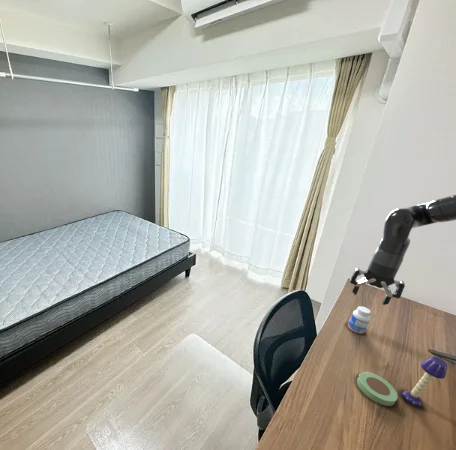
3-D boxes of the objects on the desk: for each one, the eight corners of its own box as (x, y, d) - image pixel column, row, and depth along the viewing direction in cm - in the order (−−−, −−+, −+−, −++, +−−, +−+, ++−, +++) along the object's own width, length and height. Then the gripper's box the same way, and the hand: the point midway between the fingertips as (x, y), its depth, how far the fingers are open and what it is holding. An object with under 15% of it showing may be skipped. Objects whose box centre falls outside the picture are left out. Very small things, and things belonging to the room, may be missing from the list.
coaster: (393, 388, 75) (396, 383, 74) (396, 412, 68) (399, 408, 68) (357, 371, 80) (359, 366, 79) (356, 392, 73) (359, 387, 73)
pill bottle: (347, 321, 101) (355, 302, 98) (363, 327, 98) (372, 308, 95) (347, 329, 97) (356, 310, 93) (364, 336, 94) (374, 316, 91)
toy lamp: (427, 406, 70) (456, 365, 64) (416, 411, 69) (445, 370, 63) (407, 390, 74) (432, 350, 68) (397, 394, 73) (421, 354, 67)
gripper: (360, 258, 87) (345, 295, 93) (415, 273, 79) (394, 312, 85) (360, 251, 93) (346, 286, 99) (411, 264, 85) (392, 302, 91)
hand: (368, 298), depth 92 cm, fingers open, 8 cm apart
